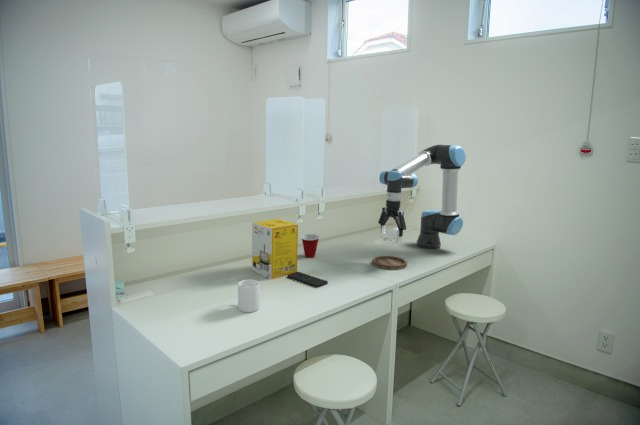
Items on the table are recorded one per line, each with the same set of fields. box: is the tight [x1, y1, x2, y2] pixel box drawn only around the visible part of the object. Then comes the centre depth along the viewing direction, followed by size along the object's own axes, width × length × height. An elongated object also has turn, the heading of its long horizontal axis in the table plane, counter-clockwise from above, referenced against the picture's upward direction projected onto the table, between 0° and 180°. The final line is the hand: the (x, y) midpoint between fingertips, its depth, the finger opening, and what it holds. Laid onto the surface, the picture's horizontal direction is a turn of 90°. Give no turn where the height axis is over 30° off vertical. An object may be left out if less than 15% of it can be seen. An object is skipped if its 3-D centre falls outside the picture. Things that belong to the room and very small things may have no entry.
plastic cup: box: [300, 233, 320, 259], centre depth 242 cm, size 11×11×12 cm
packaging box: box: [251, 218, 299, 280], centre depth 213 cm, size 16×16×25 cm
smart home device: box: [286, 271, 329, 289], centre depth 204 cm, size 8×2×20 cm
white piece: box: [381, 227, 400, 245], centre depth 230 cm, size 6×8×12 cm
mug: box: [237, 279, 261, 313], centre depth 171 cm, size 9×12×11 cm
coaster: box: [371, 255, 408, 271], centre depth 233 cm, size 18×18×2 cm
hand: (390, 239), depth 230 cm, fingers closed on white piece, 12 cm apart
